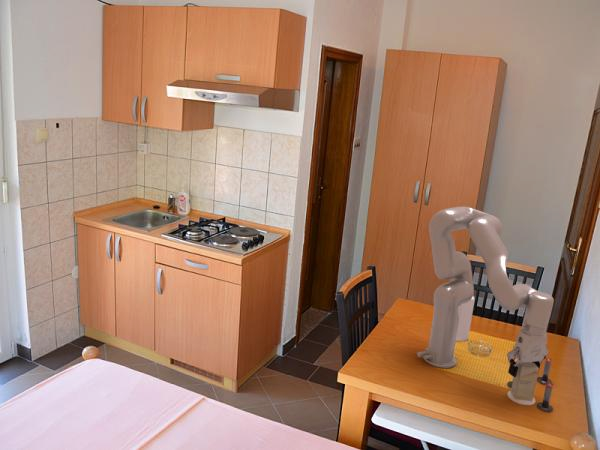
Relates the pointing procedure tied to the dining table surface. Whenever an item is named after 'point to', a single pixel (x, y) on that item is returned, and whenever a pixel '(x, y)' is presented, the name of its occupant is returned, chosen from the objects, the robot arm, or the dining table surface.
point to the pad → (519, 401)
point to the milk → (464, 320)
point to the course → (549, 385)
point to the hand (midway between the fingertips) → (523, 373)
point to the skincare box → (525, 381)
